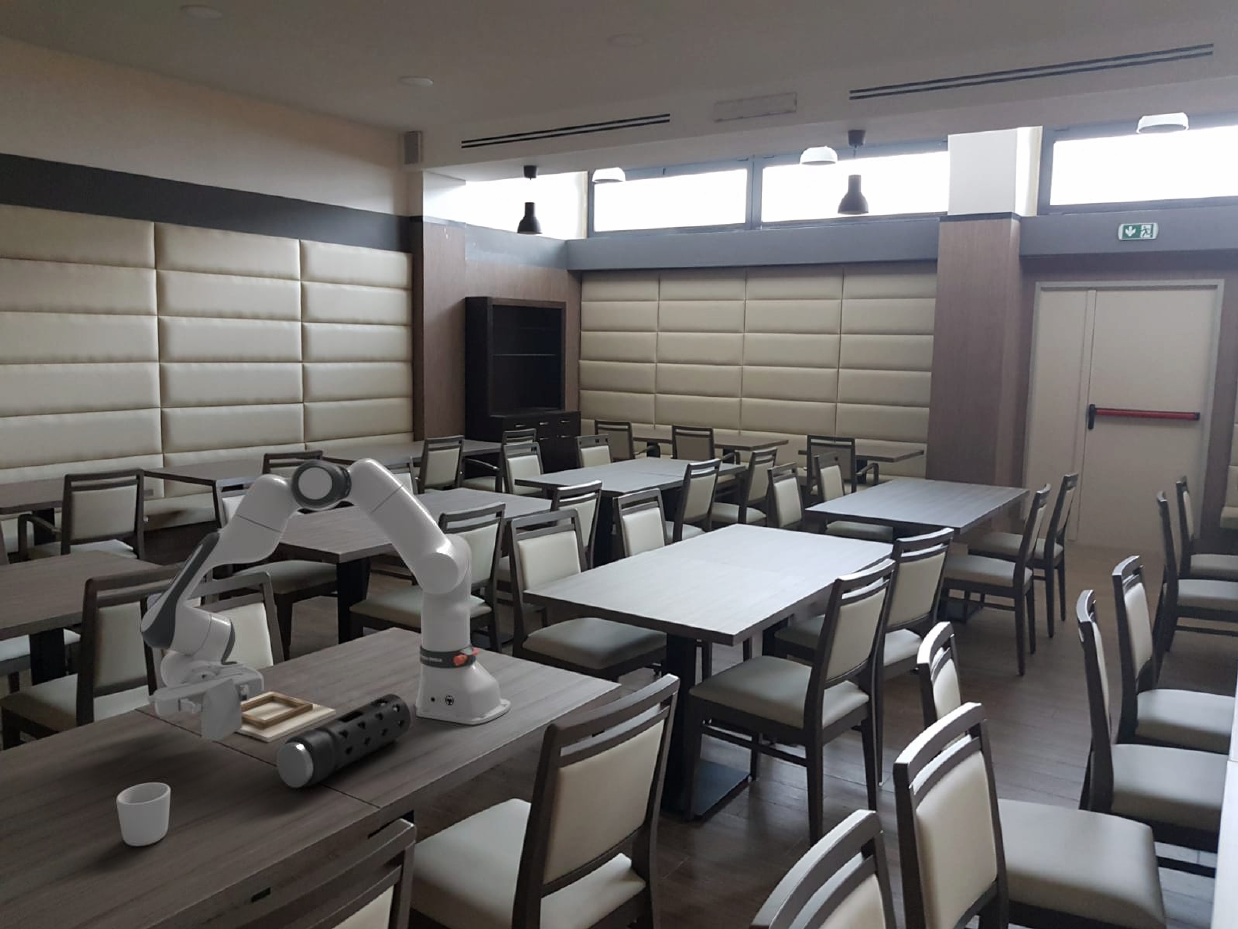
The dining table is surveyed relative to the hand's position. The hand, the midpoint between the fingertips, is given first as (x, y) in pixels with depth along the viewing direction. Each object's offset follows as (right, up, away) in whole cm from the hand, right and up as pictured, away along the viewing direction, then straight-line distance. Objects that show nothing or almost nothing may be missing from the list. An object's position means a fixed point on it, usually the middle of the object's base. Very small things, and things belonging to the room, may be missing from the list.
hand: (222, 703), depth 177 cm
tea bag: (-1, -6, +1) cm, 7 cm away
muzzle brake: (+24, -13, +3) cm, 27 cm away
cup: (-2, -16, -24) cm, 29 cm away
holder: (-1, -10, +26) cm, 28 cm away
